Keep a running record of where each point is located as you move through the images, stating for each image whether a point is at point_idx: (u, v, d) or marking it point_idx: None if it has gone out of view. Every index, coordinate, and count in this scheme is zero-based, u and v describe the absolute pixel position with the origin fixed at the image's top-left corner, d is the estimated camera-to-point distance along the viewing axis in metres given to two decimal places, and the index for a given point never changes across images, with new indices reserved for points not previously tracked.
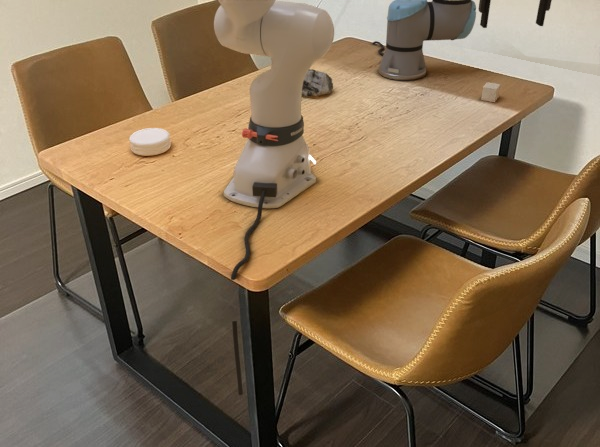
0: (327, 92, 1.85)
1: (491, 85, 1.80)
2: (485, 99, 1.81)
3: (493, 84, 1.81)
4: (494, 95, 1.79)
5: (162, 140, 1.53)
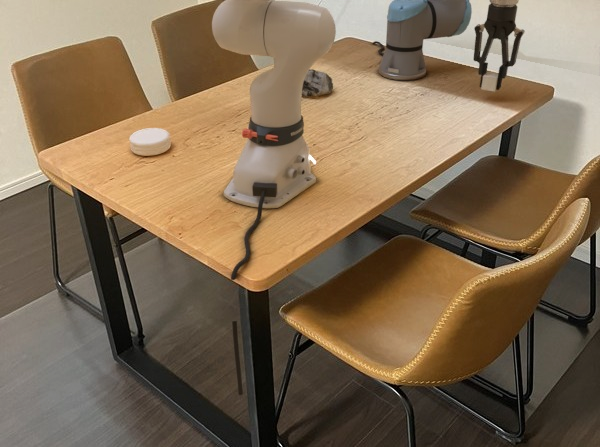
0: (327, 92, 1.85)
1: (491, 74, 1.78)
2: (485, 89, 1.79)
3: (493, 73, 1.79)
4: (494, 84, 1.77)
5: (162, 140, 1.53)
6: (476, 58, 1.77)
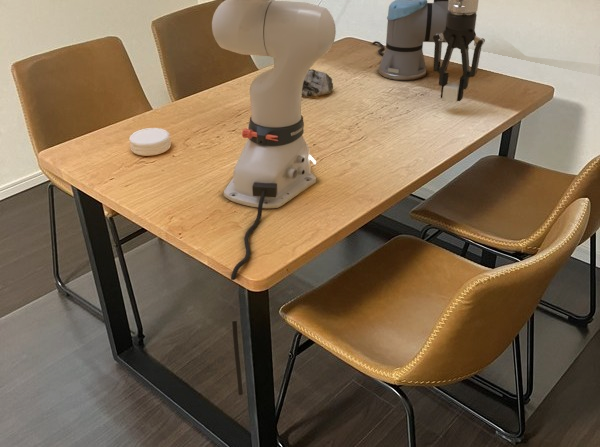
0: (327, 92, 1.85)
1: (452, 85, 1.70)
2: (446, 100, 1.71)
3: (454, 84, 1.71)
4: (455, 95, 1.69)
5: (162, 140, 1.53)
6: (436, 68, 1.69)
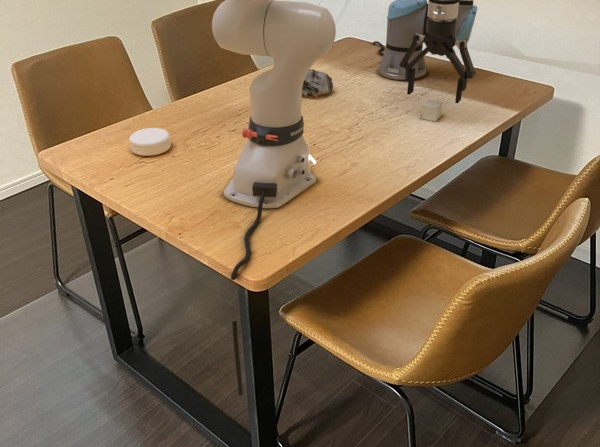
0: (327, 92, 1.85)
1: (432, 103, 1.69)
2: (426, 118, 1.70)
3: (434, 102, 1.70)
4: (435, 114, 1.68)
5: (162, 140, 1.53)
6: (402, 65, 1.68)
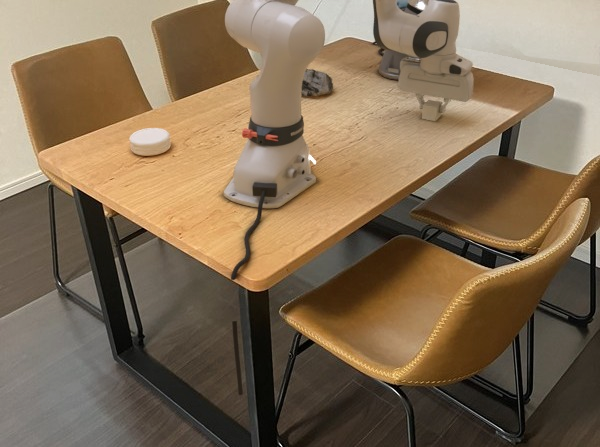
0: (327, 92, 1.85)
1: (432, 103, 1.69)
2: (426, 118, 1.70)
3: (434, 102, 1.70)
4: (435, 114, 1.68)
5: (162, 140, 1.53)
6: None
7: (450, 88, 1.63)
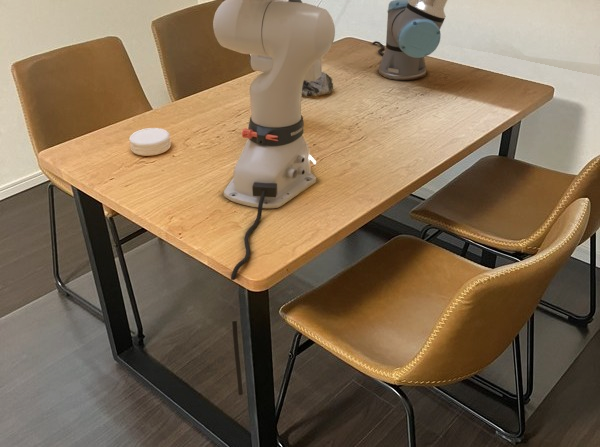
0: (327, 92, 1.85)
1: None
2: None
3: None
4: None
5: (162, 140, 1.53)
6: None
7: None
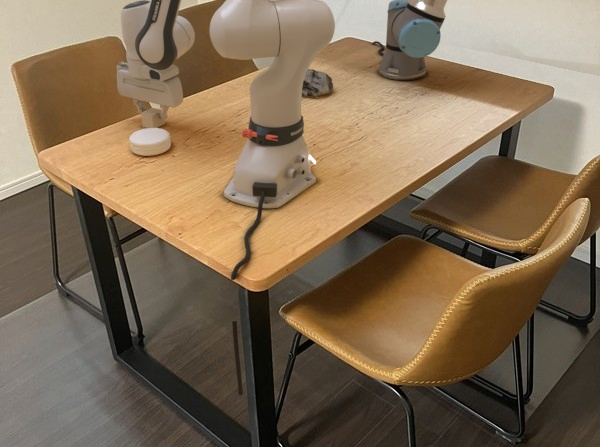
0: (327, 92, 1.85)
1: (151, 111, 1.67)
2: (146, 126, 1.68)
3: (155, 110, 1.68)
4: (152, 122, 1.66)
5: (162, 140, 1.53)
6: None
7: (158, 93, 1.61)
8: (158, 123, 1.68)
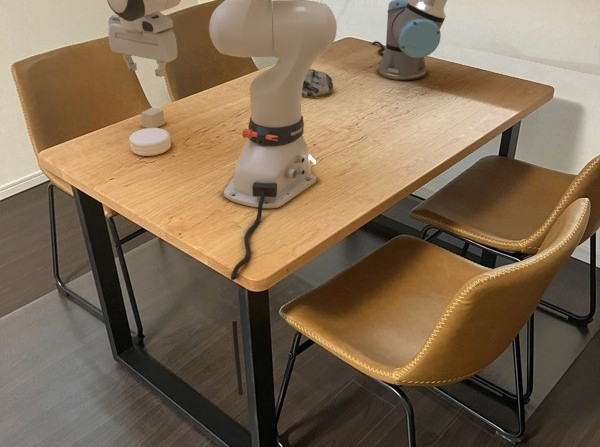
0: (327, 92, 1.85)
1: (151, 111, 1.67)
2: (146, 126, 1.68)
3: (155, 110, 1.68)
4: (152, 122, 1.66)
5: (162, 140, 1.53)
6: None
7: (151, 47, 1.54)
8: (158, 123, 1.68)
